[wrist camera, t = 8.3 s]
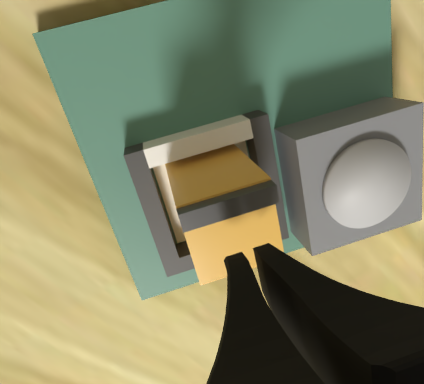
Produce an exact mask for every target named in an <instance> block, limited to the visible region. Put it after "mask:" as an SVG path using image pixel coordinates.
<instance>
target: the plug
mask: <svg viewBox="0 0 424 384" xmlns="http://www.w3.org/2000/svg"><path fill="white" fill-rule="evenodd" d="M165 166H166V170H167V174H168V178H169V182H170V186H171V190H172V194H173V198H174V202H175V206H176V210H177V214H178V217H179V220H180V224H181V227H182V230H183V233H184V235H185V238H186V241H187V245H188V248H189V251H190V254H191V257H192V261H193V264H194V267H195V270H196V273H197V276H198V280H199V283H200V286H201V285H204V284H207V283H210V282H213V281H216V280H219V279H222V278H225V277H227V271H226V267H225V263H224V259H225V257H227V256H230V255H233V254H236V253H239V252H243V254H244V255H245V256H246V258H247V259H248V261H249V263H250V265H251V268H255V267H257V264H256V260H255V255H254V251H253V248H255V247H258V246H261V245H264V244H267V243H270V244H271V245H273V246H275V247H276V248H278V249H279V250H281V251H282V252H284V249H283V243H282V238H281V232H280V226H279V221H278V215H277V210H276V204H277V203H280V202H279V196H278V190H277V185H276V184H275V183H274V182H273V181H272V180H271V177H270V176H268V175H267V174H266V173H265V172H264V171H263V170H262V169H261V168H260V167H259V166H257V165H256V164H255V163H254V162H253V161H252V160H251V159H250V158H249V157H248V156H246V155H245V154H244V153H243V152H242V151H241V150H240V149H239V148H238V147H237V146H235V145H234V144H231V145H228V146H225V147H221V148H218V149H214V150H211V151H207V152H204V153H201V154H197V155H194V156H190V157H187V158H183V159H180V160H177V161H173V162H170V163H166V164H165Z"/></svg>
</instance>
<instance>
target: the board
mask: <svg viewBox="0 0 424 384" xmlns="http://www.w3.org/2000/svg"><path fill="white" fill-rule="evenodd" d="M33 36H34V39H35V41H36V44H37V46H38V49H39V51H40V53H41V56H42V58H43V61H44V63H45V66H46V68H47V71H48V73H49V75H50V78H51V80H52V83H53V85H54V88H55V90H56V92H57V95H58V97H59V100H60V102H61V105H62V107H63V109H64V112H65V114H66V117H67V119H68V122H69V124H70V127H71V129H72V131H73V134H74V136H75V139H76V141H77V144H78V146H79V148H80V151H81V153H82V156H83V158H84V161H85V163H86V165H87V168H88V170H89V173H90V175H91V178H92V180H93V183H94V185H95V187H96V190H97V192H98V195H99V197H100V200H101V202H102V204H103V207H104V209H105V212H106V214H107V217H108V219H109V221H110V224H111V226H112V229H113V231H114V234H115V236H116V238H117V241H118V243H119V246H120V248H121V251H122V253H123V256H124V258H125V260H126V263H127V265H128V268H129V270H130V273H131V275H132V277H133V280H134V282H135V285H136V287H137V290H138V292H139V294H140V297H141V299H142V300H145V299H148V298H151V297H154V296H157V295H160V294H163V293H166V292H169V291H172V290H175V289H178V288H181V287H184V286H187V285H190V284H194V283H197V282H199V280H198V276H197V273H196V270H195V267H194V264H193V261H192V257H191V254H190V251H189V248H188V245H187V241H186V238H185V235H184V233H183V230H182V227H181V224H180V220H179V217H178V214H177V210H176V206H175V202H174V198H173V194H172V190H171V186H170V182H169V178H168V174H167V170H166V166H165V164H166V163H170V162H173V161H177V160H180V159H183V158H187V157H190V156H194V155H197V154H201V153H204V152H207V151H211V150H214V149H218V148H221V147H225V146H228V145H231V144H234V145H235V146H237V147H238V148H239V149H240V150H241V151H242V152H243V153H244V154H245V155H246V156H248V157H249V158H250V159H251V160H252V161H253V162H254V163H255V164H256V165H257V166H259V167H260V168H261V169H262V170H263V171H264V172H265V173H266V174H267V175H268V176H270V177H271V180H272V181H273V182H274V183H275V184H276V185H277V190H278V196H279V202H280V203H277V204H276V210H277V215H278V221H279V226H280V232H281V238H282V243H283V249H284V253H288V252H291V251H294V250H297V249H300V248H303V247H305V248H306V250H307V251H308V252H309V253H310V254H311V255H312V256H314V255H317V254H320V253H323V252H326V251H329V250H332V249H335V248H338V247H341V246H344V245H347V244H350V243H353V242H356V241H359V240H362V239H365V238H368V237H371V236H374V235H377V234H380V233H383V232H386V231H389V230H392V229H396V228H399V227H402V226H405V225H408V224H411V223H414V222H417V221H420V220H422V164H423V103H422V102H416V101H410V100H404V99H397V98H393V92H392V45H391V0H167V1H163V2H159V3H155V4H151V5H147V6H143V7H139V8H134V9H130V10H126V11H122V12H118V13H114V14H110V15H106V16H102V17H98V18H94V19H90V20H86V21H82V22H78V23H74V24H70V25H66V26H62V27H58V28H54V29H50V30H46V31H41V32H37V33H33Z"/></svg>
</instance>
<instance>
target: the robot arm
mask: <svg viewBox="0 0 424 384" xmlns="http://www.w3.org/2000/svg"><path fill="white" fill-rule="evenodd" d="M253 251H254V255H255V260H256V264H257V269H258V273H259V277H260V282H261V286H262V291H263V293H264V296H265V298H266V300H267V302H268V305H269V306H268V305H267V303H266V301H265V299H264V297H263V295H262V292H261V290H260V287H259V285H258V282H257V280H256V277H255V275H254V272H253V270H252V268H251V265H250V263H249V261H248V259H247V258H246V256H245V255H244V254H243V252H239V253H236V254H233V255H230V256H227V257H225V259H224V263H225V267H226V271H227V281H228V282H227V305H226V315H225V321H224V327H223V332H222V336H221V340H220V344H219V348H218V352H217V355H216V359H215V362H214V365H213V367H212V370H211V373H210V376H209V378H208V381H207V384H424V308H423V307H418V306H414V305H409V304H405V303H400V302H397V301H393V300H389V299H385V298H382V297H379V296H375V295H372V294H369V293H366V292H363V291H360V290H357V289H355V288H352V287H349V286H347V285H344V284H342V283H339V282H337V281H335V280H332V279H330V278H328V277H326V276H324V275H322V274H320V273H318V272H316V271H314V270H312V269H311V268H309V267H307V266H305V265H304V264H302V263H300V262H298V261H297V260H295V259H293V258H292V257H290V256H289V255H287V254H285V253H284V252H282V251H281V250H279V249H278V248H276V247H275V246H273V245H271V244H270V243H267V244H264V245H261V246H258V247H255V248H253ZM269 307H270V308H269Z"/></svg>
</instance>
